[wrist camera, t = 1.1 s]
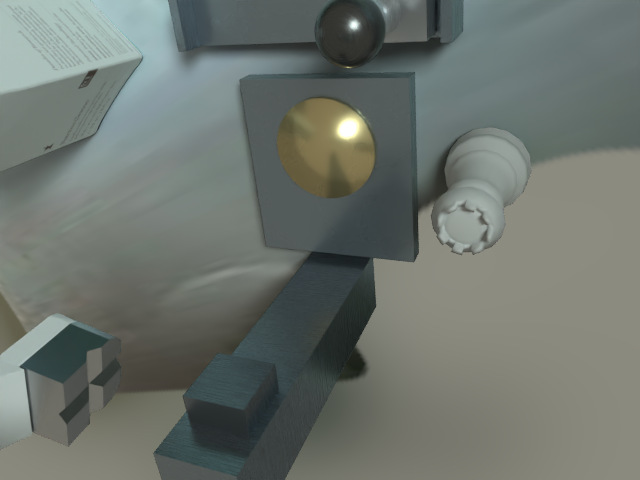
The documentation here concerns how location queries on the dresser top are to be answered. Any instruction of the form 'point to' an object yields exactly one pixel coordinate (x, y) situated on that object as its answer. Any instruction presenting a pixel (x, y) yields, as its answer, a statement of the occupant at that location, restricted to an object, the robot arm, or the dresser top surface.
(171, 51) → the dresser top surface
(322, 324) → the press
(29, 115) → the skincare box
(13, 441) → the robot arm
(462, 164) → the rook chess piece
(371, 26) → the lever
